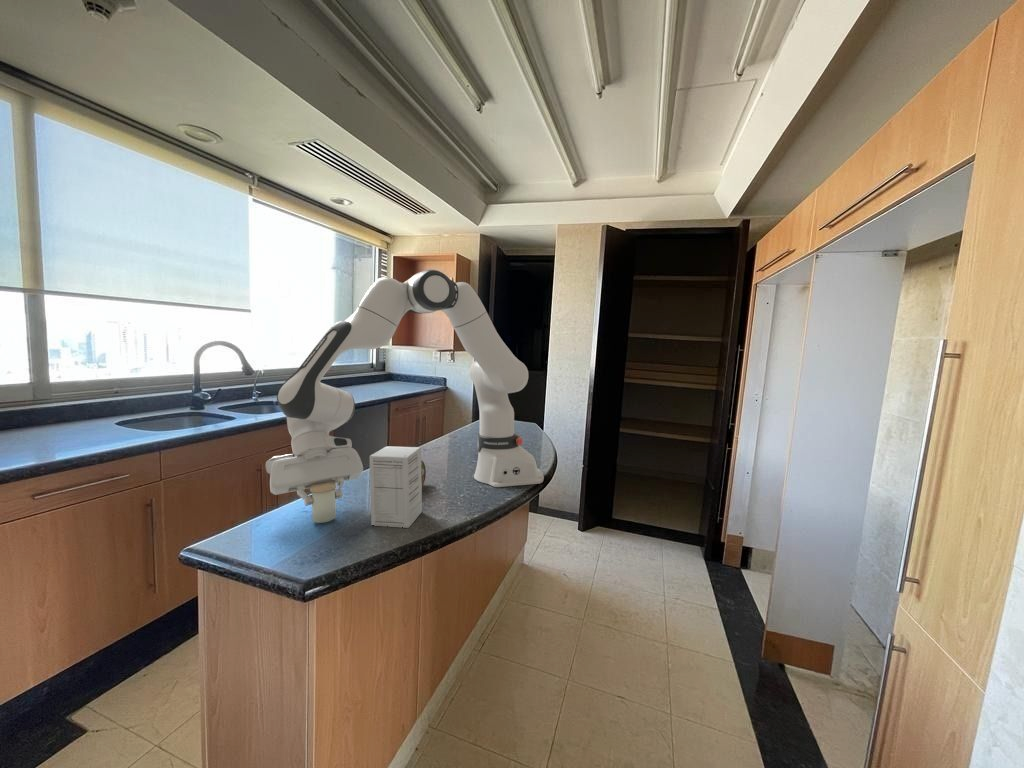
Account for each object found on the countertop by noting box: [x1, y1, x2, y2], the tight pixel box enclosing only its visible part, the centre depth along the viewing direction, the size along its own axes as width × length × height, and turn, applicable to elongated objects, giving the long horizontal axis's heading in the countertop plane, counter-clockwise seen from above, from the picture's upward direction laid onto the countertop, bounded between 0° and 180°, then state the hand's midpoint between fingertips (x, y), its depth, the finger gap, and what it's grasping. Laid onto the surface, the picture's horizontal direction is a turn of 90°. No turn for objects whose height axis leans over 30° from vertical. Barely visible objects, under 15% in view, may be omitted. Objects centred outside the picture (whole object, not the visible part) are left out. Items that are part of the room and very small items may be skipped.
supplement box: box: [369, 445, 423, 529], centre depth 91 cm, size 10×9×17 cm
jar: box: [309, 481, 337, 524], centre depth 89 cm, size 5×5×8 cm
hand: (324, 500), depth 89 cm, fingers closed on jar, 5 cm apart
